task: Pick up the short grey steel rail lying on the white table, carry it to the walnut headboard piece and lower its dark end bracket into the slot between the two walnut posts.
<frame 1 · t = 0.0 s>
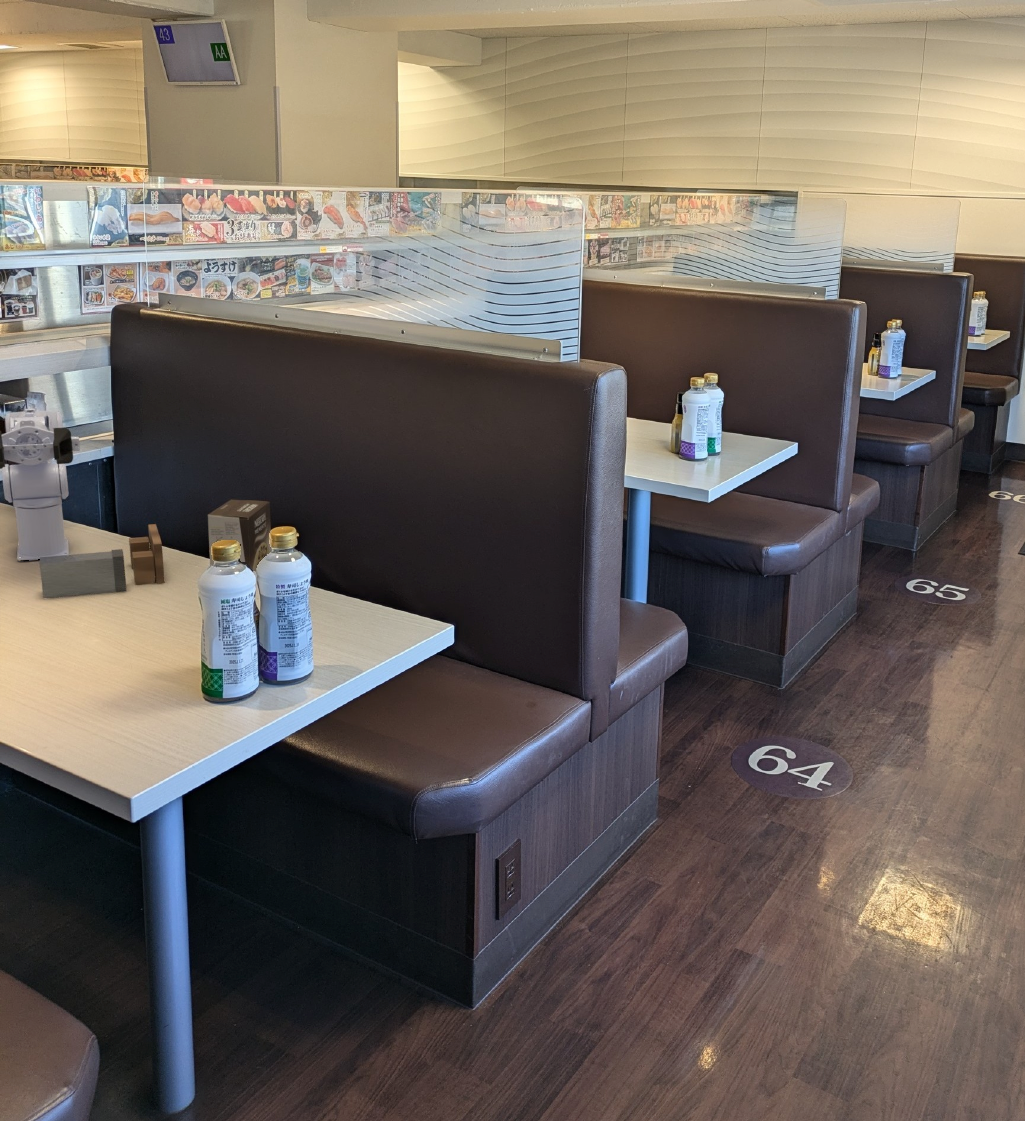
hand: (28, 453, 166), 22 cm above the table, tool horizontal, fingers open, 7 cm apart
rail: (85, 591, 174), on the table
post block: (142, 573, 182), on the table
coffee box: (244, 611, 169), on the table
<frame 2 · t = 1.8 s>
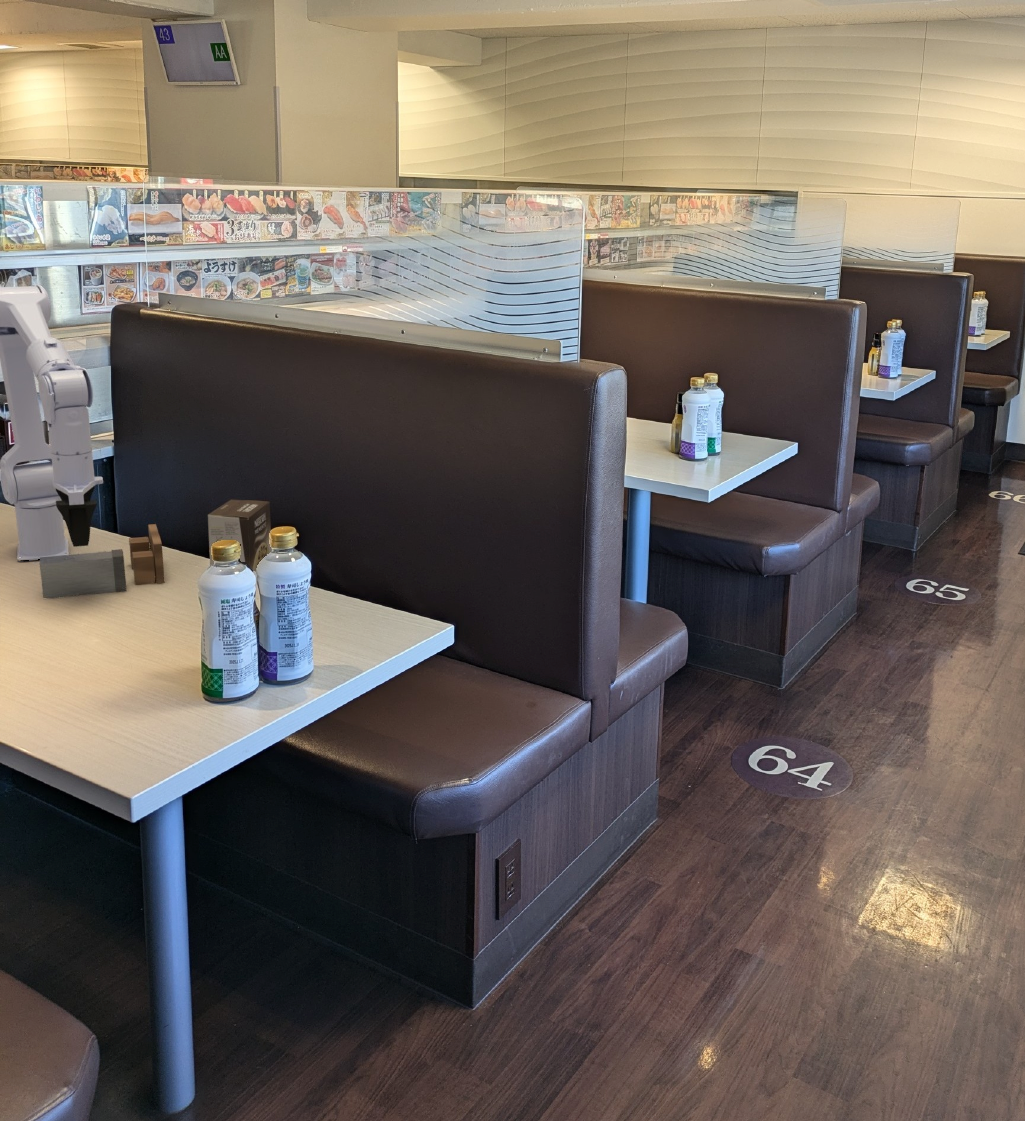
hand: (80, 538, 171), 9 cm above the table, tool pointing down, fingers open, 7 cm apart
nothing on the table moved.
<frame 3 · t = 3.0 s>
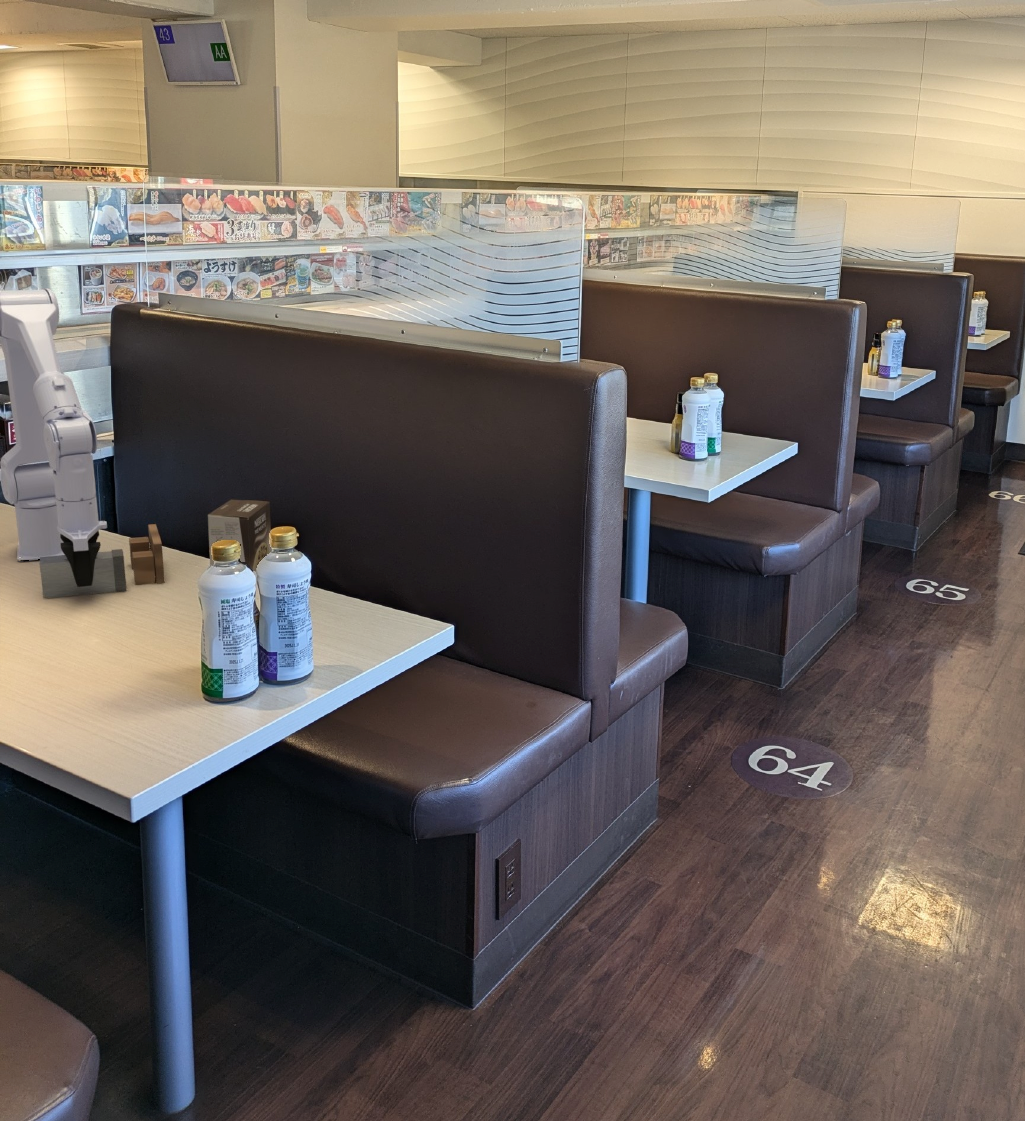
hand: (84, 581, 173), 2 cm above the table, tool pointing down, fingers closed on rail, 3 cm apart
rail: (85, 591, 174), on the table, touching gripper
everything else where it was.
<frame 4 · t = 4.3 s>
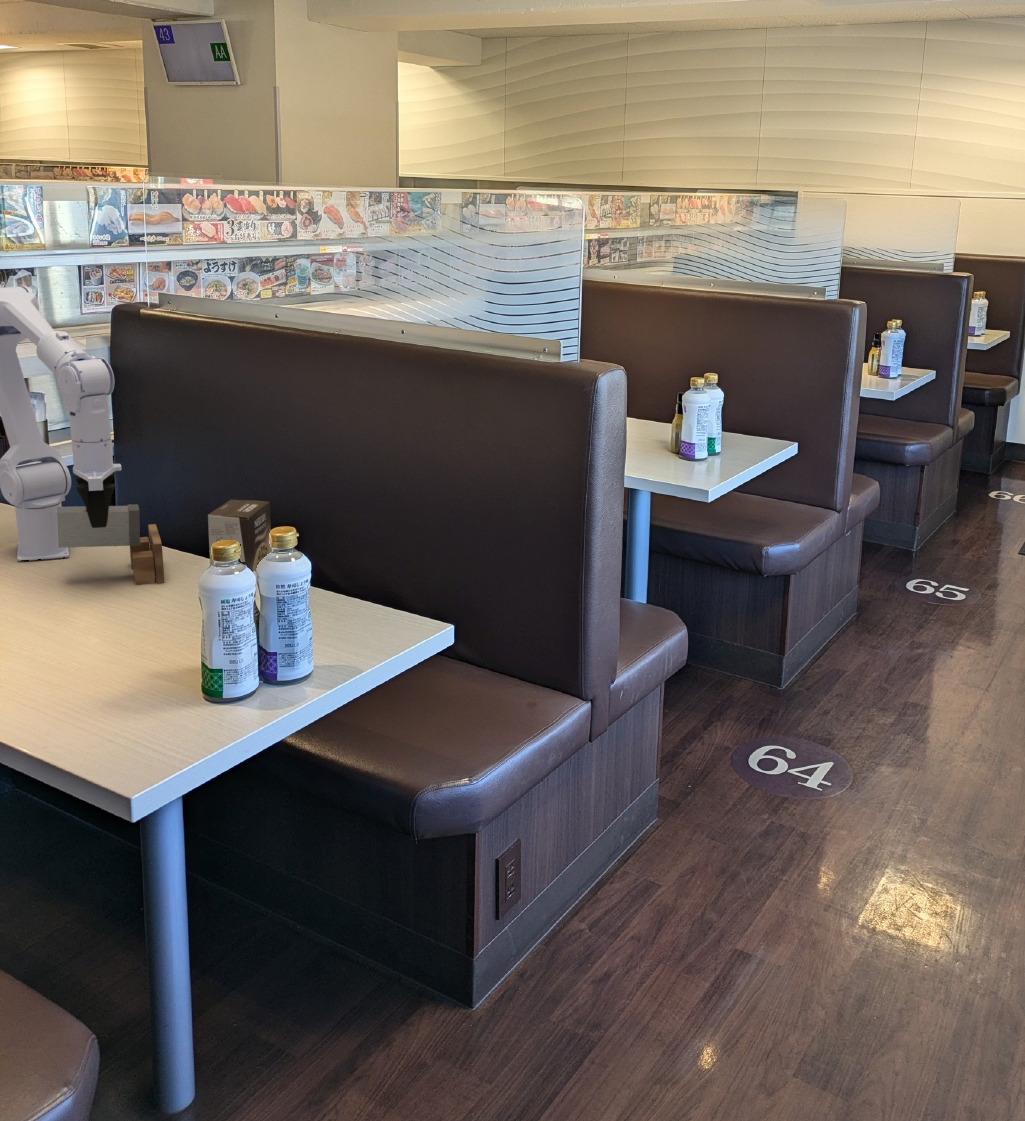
hand: (98, 523, 176), 9 cm above the table, tool pointing down, fingers closed on rail, 3 cm apart
rail: (99, 543, 177), point 6 cm above the table, touching gripper
everything else where it was.
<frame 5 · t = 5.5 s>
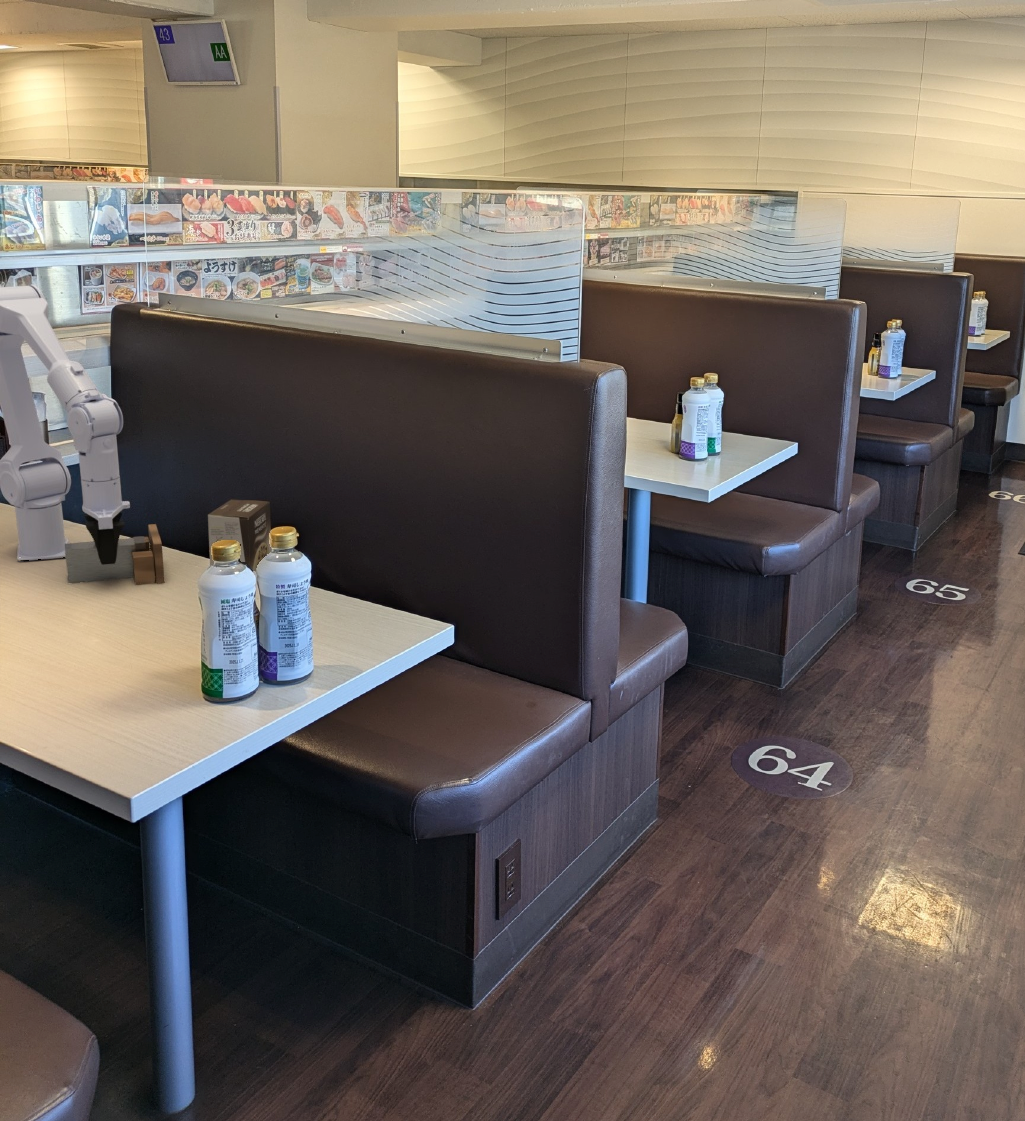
hand: (107, 559, 180), 3 cm above the table, tool pointing down, fingers closed on rail, 3 cm apart
rail: (108, 576, 180), on the table, touching gripper
everything else where it was.
when the fingers open (3 cm above the table, at t = 5.8 s): rail stays where it is, on the table.
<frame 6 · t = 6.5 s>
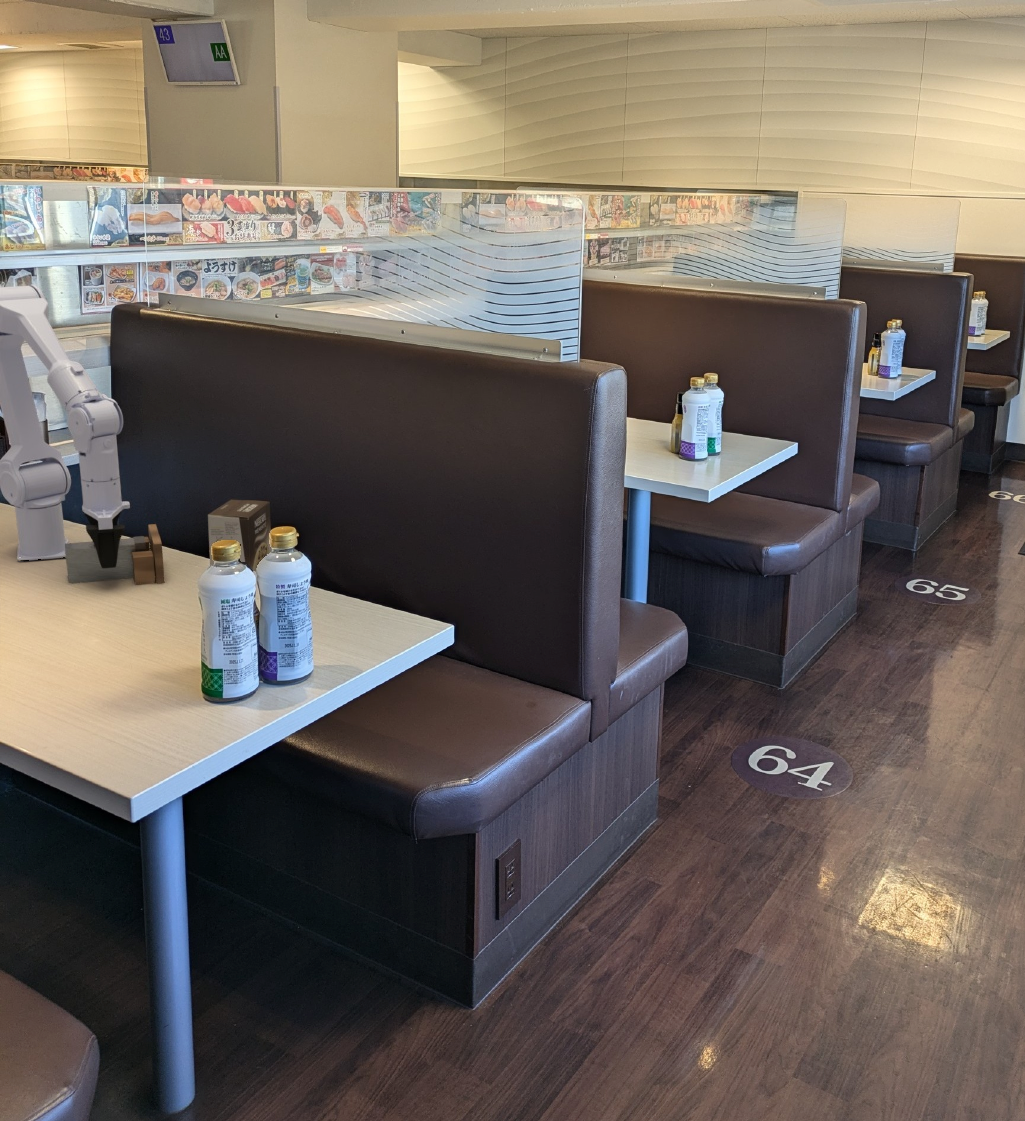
hand: (107, 559, 180), 3 cm above the table, tool pointing down, fingers open, 7 cm apart
rail: (108, 576, 180), on the table
everything else where it was.
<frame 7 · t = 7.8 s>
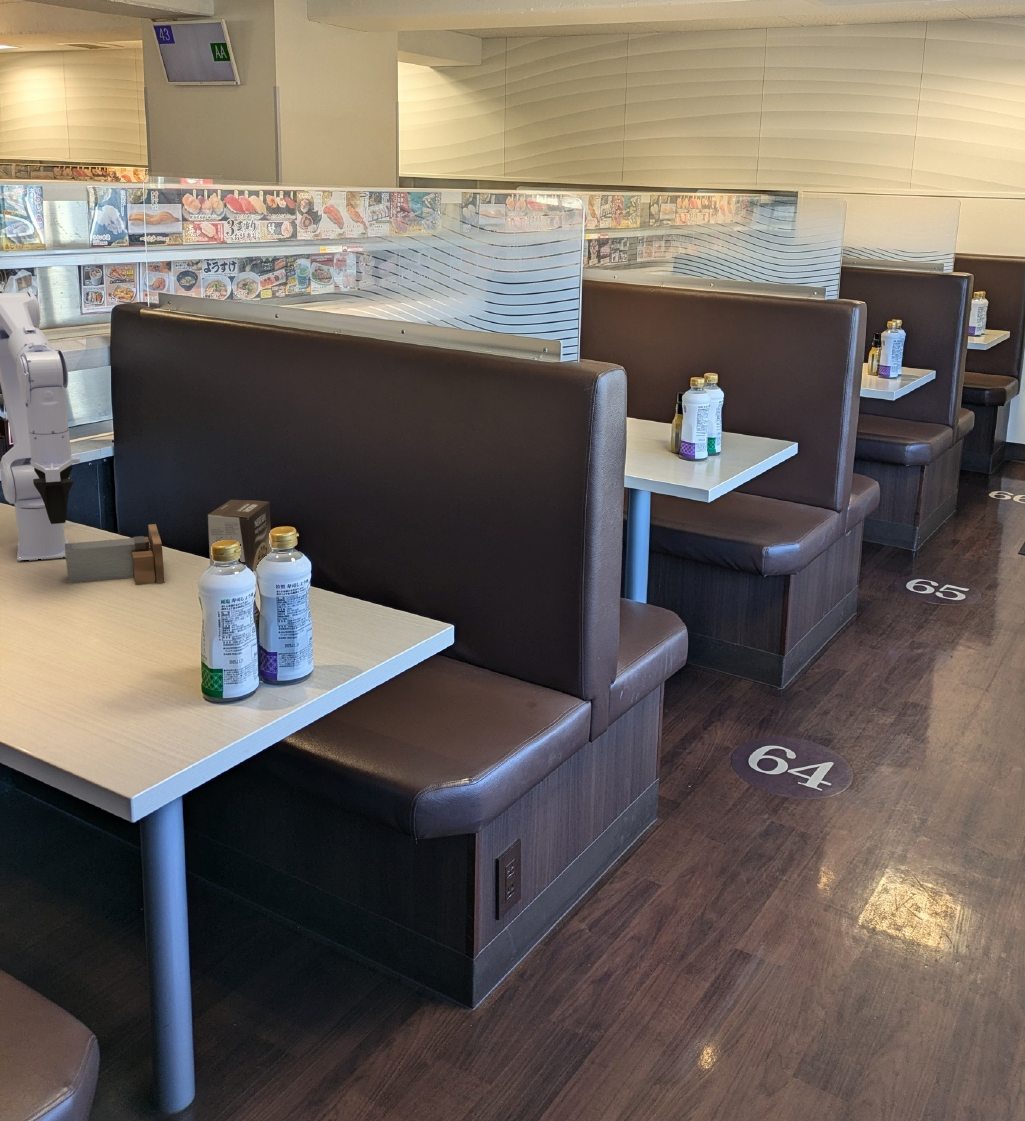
hand: (58, 516, 175), 10 cm above the table, tool pointing down, fingers open, 7 cm apart
nothing on the table moved.
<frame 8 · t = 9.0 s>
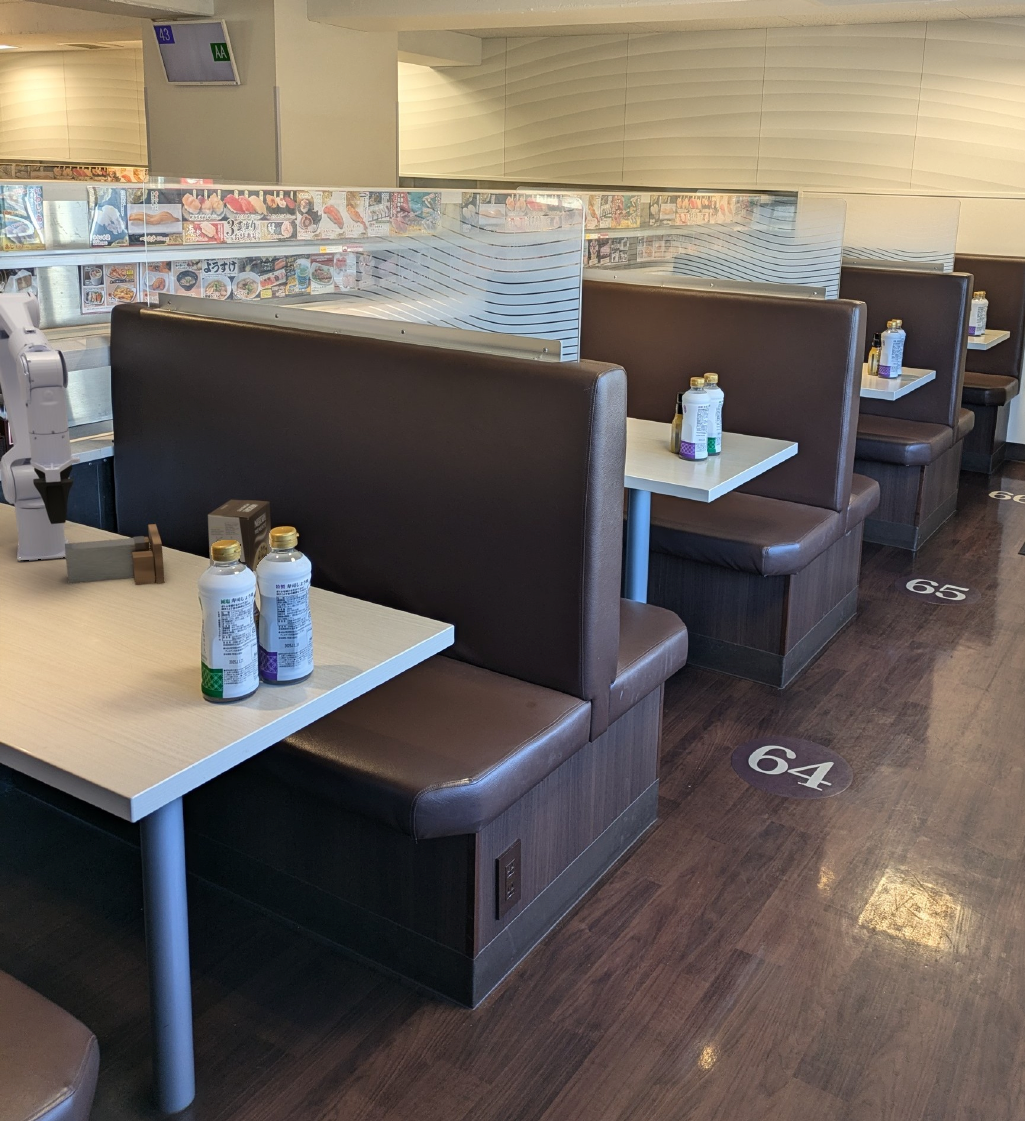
hand: (58, 516, 175), 10 cm above the table, tool pointing down, fingers open, 7 cm apart
nothing on the table moved.
at the end: rail 0.0 cm from the target spot on the table beside the post block, on the table; rail tilted 0°; the gripper is holding nothing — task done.
